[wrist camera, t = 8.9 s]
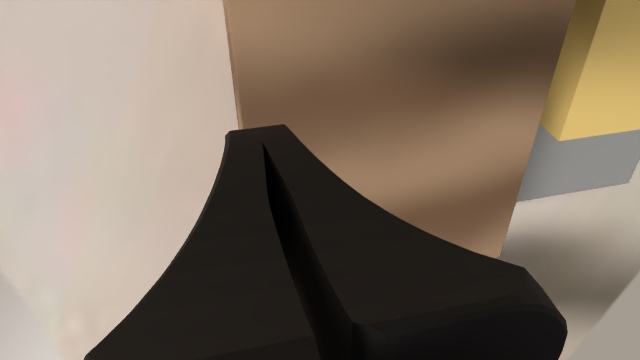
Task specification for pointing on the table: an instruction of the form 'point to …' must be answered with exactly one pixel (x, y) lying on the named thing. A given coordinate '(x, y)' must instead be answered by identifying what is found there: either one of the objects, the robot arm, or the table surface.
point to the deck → (406, 98)
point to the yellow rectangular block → (596, 72)
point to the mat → (578, 163)
